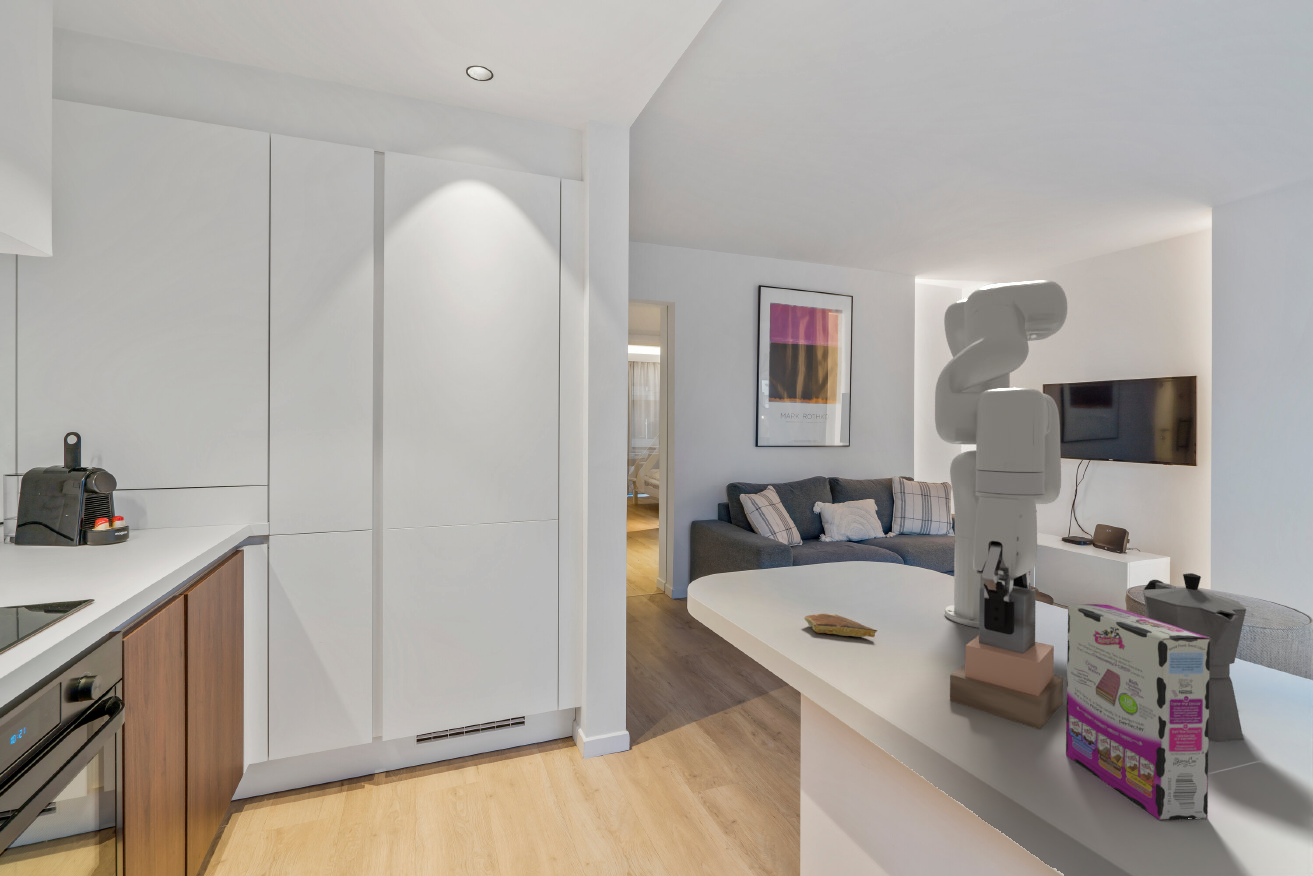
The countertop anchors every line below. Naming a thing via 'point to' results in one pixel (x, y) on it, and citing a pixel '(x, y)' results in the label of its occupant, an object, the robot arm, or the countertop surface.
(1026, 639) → the grey block
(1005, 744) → the countertop surface
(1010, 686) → the tower top
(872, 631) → the flatbread slice
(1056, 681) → the tower base
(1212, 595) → the coffeepot
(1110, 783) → the candy bar box
